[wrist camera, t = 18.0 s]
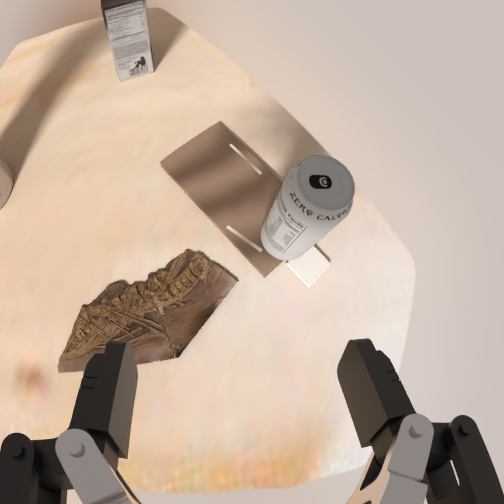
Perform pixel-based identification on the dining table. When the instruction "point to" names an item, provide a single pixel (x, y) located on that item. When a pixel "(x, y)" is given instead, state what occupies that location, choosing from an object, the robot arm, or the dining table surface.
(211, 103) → the dining table surface
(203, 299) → the wooden fragment
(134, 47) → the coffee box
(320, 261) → the white square tile
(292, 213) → the energy drink can
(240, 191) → the walnut board
